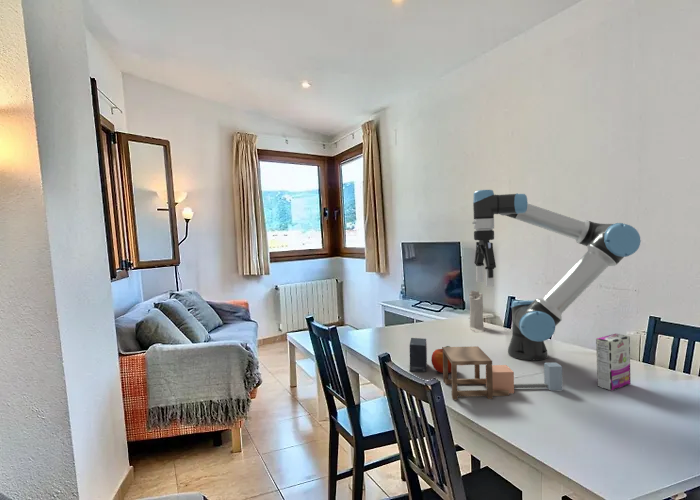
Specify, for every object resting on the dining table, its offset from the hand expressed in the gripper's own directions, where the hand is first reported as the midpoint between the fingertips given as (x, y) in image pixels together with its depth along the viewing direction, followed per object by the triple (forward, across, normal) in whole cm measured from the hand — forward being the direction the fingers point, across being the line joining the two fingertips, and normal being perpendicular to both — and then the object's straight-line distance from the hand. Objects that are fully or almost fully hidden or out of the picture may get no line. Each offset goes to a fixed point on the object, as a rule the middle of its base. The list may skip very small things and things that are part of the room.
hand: (484, 284), depth 161 cm
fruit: (+32, +8, -18) cm, 37 cm away
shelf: (+32, +26, -11) cm, 42 cm away
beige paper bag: (+32, -57, +12) cm, 66 cm away
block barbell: (+32, +26, +5) cm, 41 cm away
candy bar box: (+32, +24, +35) cm, 53 cm away
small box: (+32, +3, -27) cm, 42 cm away
